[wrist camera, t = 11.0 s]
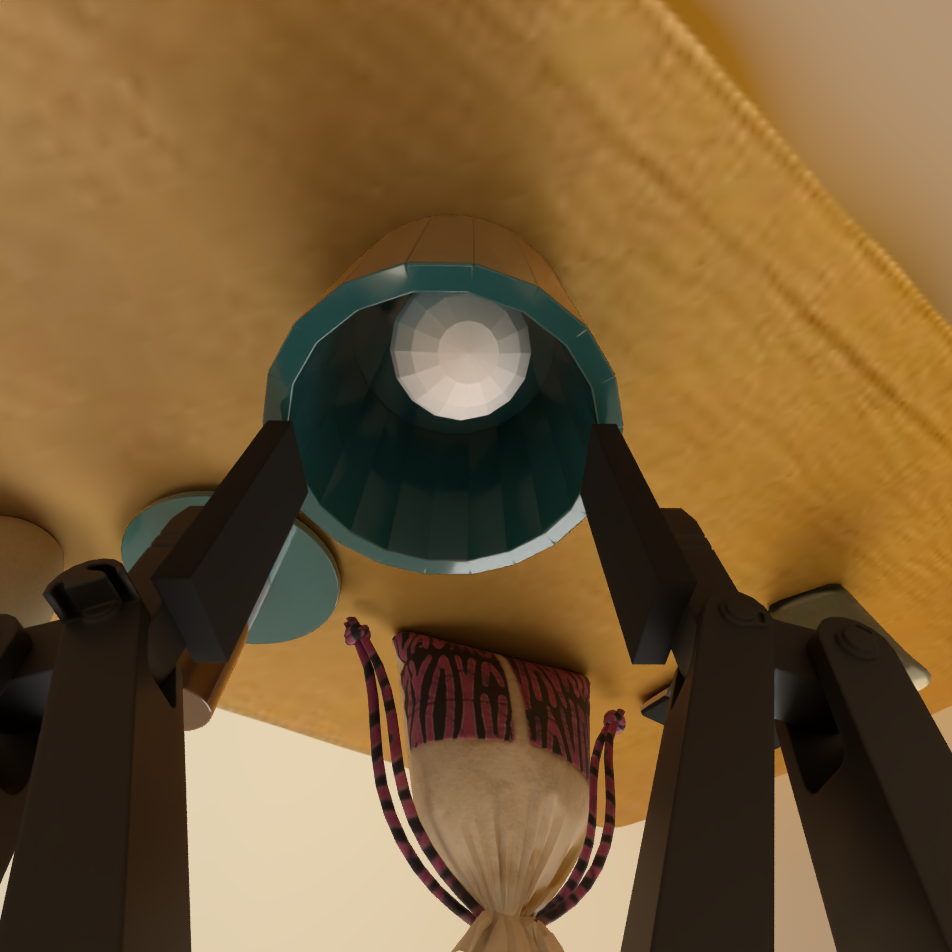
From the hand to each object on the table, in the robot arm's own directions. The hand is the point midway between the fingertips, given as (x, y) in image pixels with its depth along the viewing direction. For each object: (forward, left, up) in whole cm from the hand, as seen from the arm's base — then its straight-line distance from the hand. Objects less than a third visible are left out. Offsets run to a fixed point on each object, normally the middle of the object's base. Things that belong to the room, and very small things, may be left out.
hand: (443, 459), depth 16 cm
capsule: (0, 0, -10) cm, 10 cm away
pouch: (+26, +3, -11) cm, 28 cm away
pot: (0, 0, -11) cm, 11 cm away
